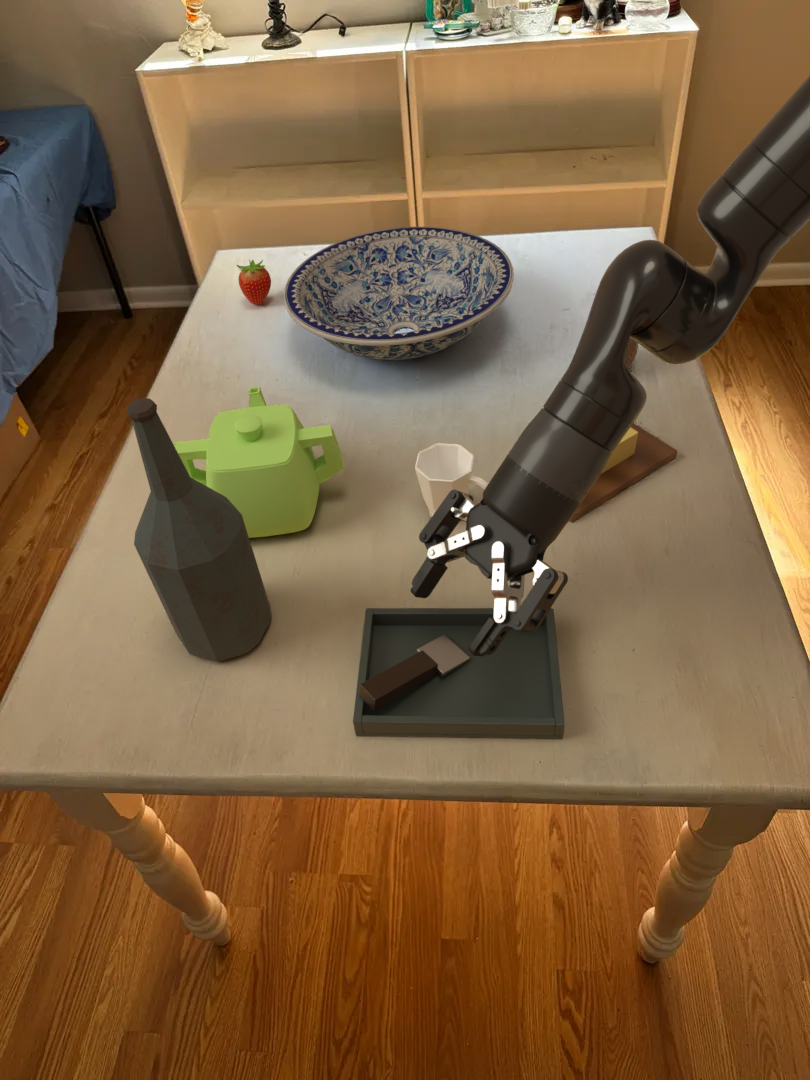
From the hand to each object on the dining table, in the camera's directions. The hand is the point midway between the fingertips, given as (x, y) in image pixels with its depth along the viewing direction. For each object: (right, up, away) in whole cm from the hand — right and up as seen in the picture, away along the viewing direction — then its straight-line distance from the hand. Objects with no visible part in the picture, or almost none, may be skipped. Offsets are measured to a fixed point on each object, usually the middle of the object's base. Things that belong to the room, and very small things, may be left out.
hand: (445, 623), depth 71 cm
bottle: (-23, -2, +15) cm, 28 cm away
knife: (+2, -3, +9) cm, 10 cm away
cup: (+3, +10, +24) cm, 26 cm away
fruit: (-28, +47, +62) cm, 83 cm away
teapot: (-21, +13, +29) cm, 38 cm away
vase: (+26, +32, +42) cm, 59 cm away
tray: (+2, -6, +8) cm, 10 cm away
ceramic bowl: (-4, +40, +52) cm, 66 cm away
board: (+20, +17, +28) cm, 38 cm away
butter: (+21, +17, +26) cm, 38 cm away
